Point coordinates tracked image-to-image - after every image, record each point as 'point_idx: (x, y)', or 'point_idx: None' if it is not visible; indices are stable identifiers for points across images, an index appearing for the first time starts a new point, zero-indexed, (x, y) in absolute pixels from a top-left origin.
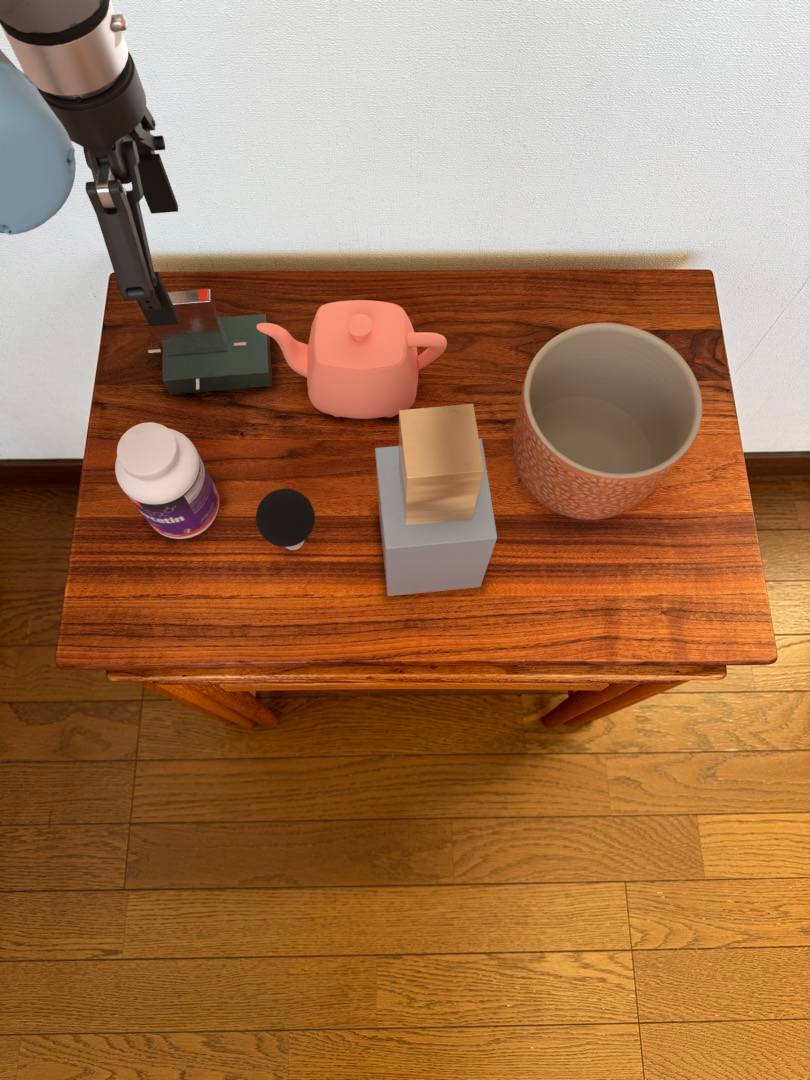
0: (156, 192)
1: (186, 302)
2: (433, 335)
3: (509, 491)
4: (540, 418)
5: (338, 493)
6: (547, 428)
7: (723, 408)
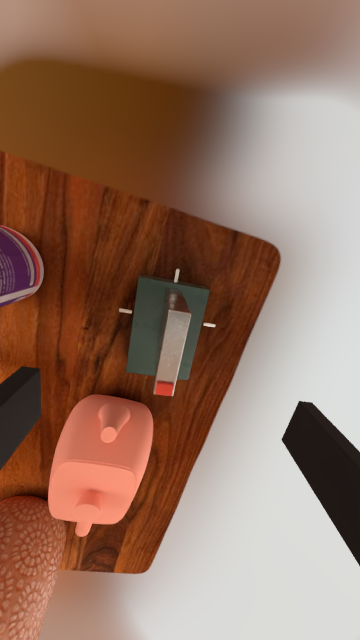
0: (326, 469)
1: (159, 367)
2: (83, 533)
3: (13, 480)
4: None
5: None
6: None
7: (61, 569)
